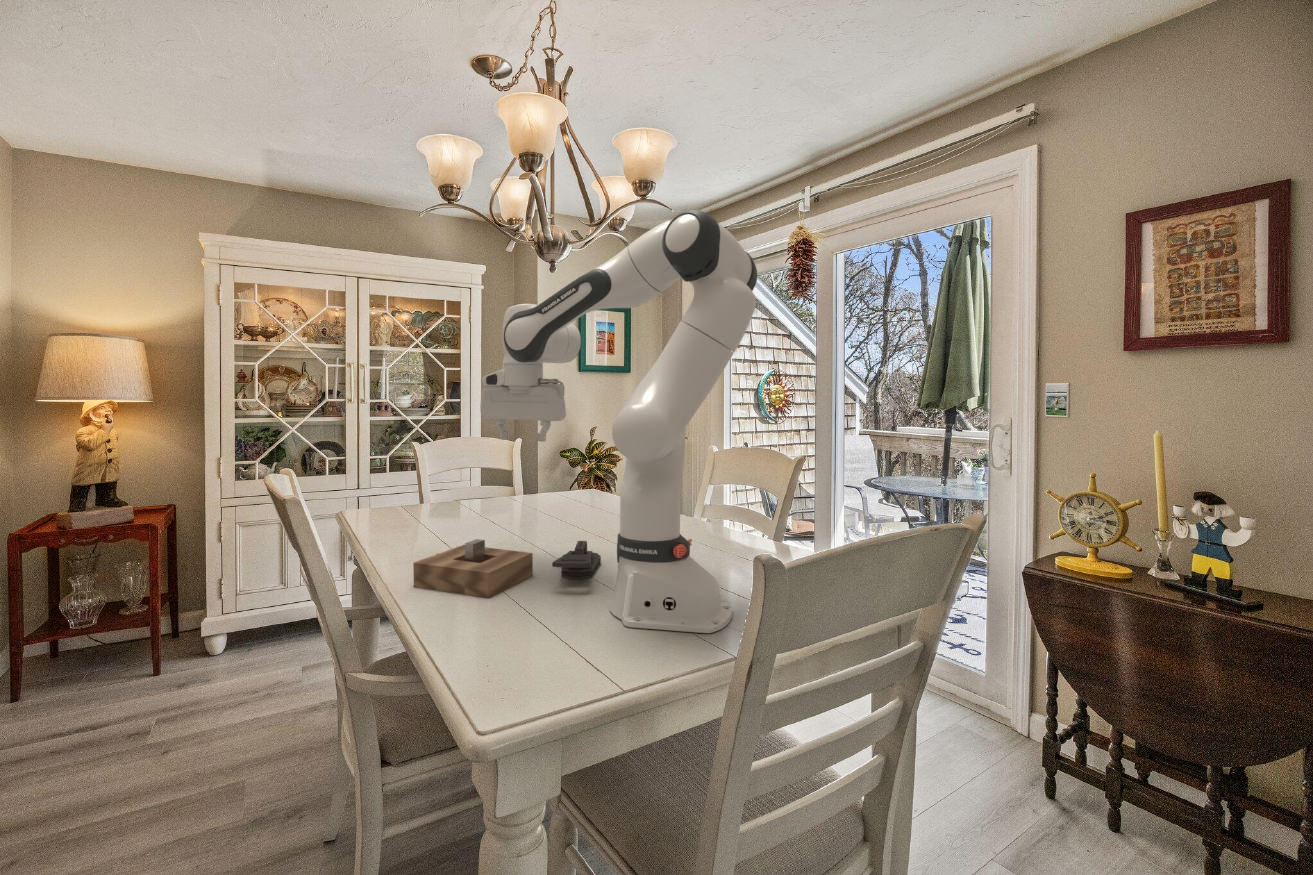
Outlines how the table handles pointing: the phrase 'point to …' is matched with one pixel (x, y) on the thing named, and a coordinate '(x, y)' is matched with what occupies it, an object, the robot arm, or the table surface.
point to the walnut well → (473, 571)
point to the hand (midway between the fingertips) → (522, 440)
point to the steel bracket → (475, 551)
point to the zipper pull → (579, 562)
